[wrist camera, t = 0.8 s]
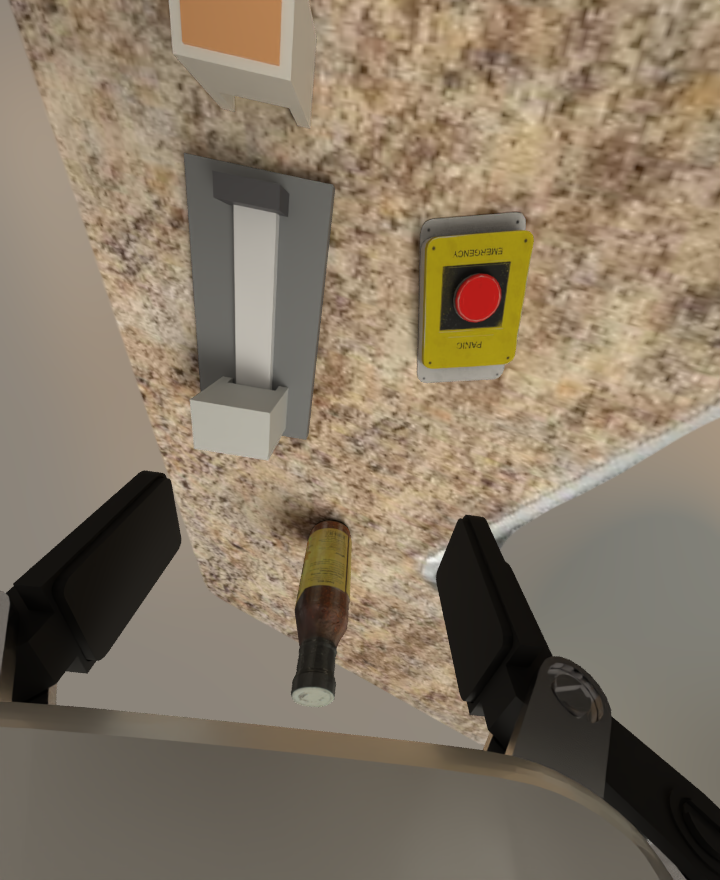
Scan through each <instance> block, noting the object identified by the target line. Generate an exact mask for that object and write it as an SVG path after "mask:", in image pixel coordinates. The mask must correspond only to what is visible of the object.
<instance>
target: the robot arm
mask: <svg viewBox="0 0 720 880" xmlns="http://www.w3.org/2000/svg"><path fill="white" fill-rule="evenodd" d="M180 544H181V534H180V529H179V523H178V517H177V512H176V507H175V501H174V495H173V489H172V484H171V480H170V479H168V478H166V475H165V474H163V473H159V472H152V471H142V472H140V473H138V474H137V475H136V476H135V477H134V478H133V479H132V480H131V481H130V482H128V483H127V484H126V485H125V486H124V487H123V488H121V489H120V490H119V491H118V492H117V493H116V494H115V495H113V496H112V497H111V498H110V499H109V500H108V501H107V502H106V503H104V504H103V505H102V506H101V507H100V508H99V509H98V510H96V511H95V512H94V513H93V514H92V515H91V516H90V517H88V518H87V519H86V520H85V521H84V522H83V523H82V524H80V525H79V526H78V527H77V528H76V529H75V530H74V531H73V532H71V533H70V534H69V535H68V536H67V537H66V538H65V539H63V540H62V541H61V542H60V543H59V544H58V545H57V546H55V548H53V549H52V550H51V551H50V552H49V553H48V554H47V555H45V556H44V557H43V558H42V559H41V560H40V561H38V562H37V563H36V564H35V565H34V566H33V567H32V568H30V569H29V570H28V571H27V572H26V573H25V574H24V575H23V576H22V577H20V578H19V579H18V580H17V581H16V582H15V583H14V584H13V585H14V587H12V588H11V589H10V590H9V591H8V592H7V593H4V592H3V591H0V880H720V809H719V808H718V807H717V806H716V805H715V804H714V803H713V802H712V801H711V800H710V799H709V798H708V797H707V796H706V795H705V794H704V793H702V792H701V791H700V790H699V789H698V788H696V787H695V786H694V785H693V784H692V783H691V782H689V781H688V780H687V779H686V778H685V777H683V776H682V775H681V774H680V773H679V772H677V771H676V770H675V769H674V768H673V767H671V766H670V765H669V764H668V763H667V762H665V761H664V760H663V759H662V758H661V757H659V756H658V755H657V754H656V753H655V752H653V751H652V750H651V749H650V748H649V747H647V746H646V745H645V744H644V743H643V742H642V741H640V740H639V739H638V738H637V737H636V736H634V735H633V734H632V733H631V732H630V731H628V730H627V729H626V728H625V727H624V726H622V725H621V724H620V723H619V722H618V721H616V720H615V719H614V718H613V717H612V716H611V708H610V705H609V703H608V700H607V697H606V696H605V694H604V692H603V691H602V689H601V688H600V686H599V684H598V683H597V682H596V681H595V680H594V679H593V677H592V676H591V675H590V674H589V673H587V672H586V671H585V670H584V669H583V668H581V666H579V665H578V664H575V663H574V662H572V661H571V660H569V659H566V658H563V657H559V656H552V654H551V652H550V650H549V647H548V645H547V643H546V641H545V639H544V637H543V635H542V633H541V630H540V628H539V626H538V624H537V622H536V620H535V618H534V615H533V613H532V611H531V610H530V607H529V605H528V603H527V601H526V598H525V596H524V595H523V592H522V590H521V588H520V586H519V583H518V581H517V579H516V577H515V575H514V573H513V571H512V569H511V567H510V565H509V564H508V563H506V562H505V560H504V558H503V556H502V554H501V551H500V549H499V547H498V545H497V543H496V541H495V538H494V536H493V534H492V532H491V530H490V527H489V525H488V523H487V521H486V519H485V518H484V517H479V516H472V515H465V516H464V518H463V519H461V518H460V519H458V521H457V524H456V526H455V529H454V531H453V533H452V536H451V538H450V541H449V543H448V546H447V548H446V551H445V553H444V556H443V558H442V561H441V563H440V566H439V568H438V571H437V575H436V582H437V587H438V592H439V597H440V602H441V606H442V611H443V616H444V621H445V626H446V630H447V635H448V640H449V645H450V650H451V654H452V659H453V664H454V669H455V673H456V678H457V683H458V688H459V692H460V696H461V698H462V700H463V701H467V705H468V709H469V714H470V715H476V716H485V720H486V724H487V728H488V730H489V732H490V733H489V736H488V738H487V741H486V743H485V746H484V748H483V750H477V749H469V748H462V747H454V746H446V745H438V744H431V743H423V742H415V741H406V740H397V739H387V738H378V737H369V736H360V735H351V734H342V733H333V732H323V731H314V730H304V729H294V728H285V727H275V726H266V725H256V724H247V723H236V722H227V721H217V720H208V719H198V718H188V717H178V716H168V715H157V714H147V713H136V712H126V711H116V710H106V709H96V708H85V707H73V706H60V705H56V693H57V690H56V689H57V687H56V685H57V682H58V681H59V679H60V678H61V677H62V675H63V674H64V673H65V671H70V672H78V673H88V672H89V670H90V669H91V667H92V666H93V665H94V663H95V662H96V661H97V660H98V661H99V660H101V659H102V658H103V657H105V655H106V654H107V653H108V652H109V650H110V649H111V647H112V646H113V644H114V643H115V641H116V640H117V638H118V637H119V636H120V634H121V633H122V631H123V630H124V628H125V627H126V625H127V624H128V622H129V621H130V619H131V618H132V616H133V615H134V614H135V612H136V611H137V609H138V608H139V606H140V605H141V603H142V602H143V601H144V599H145V598H146V596H147V595H148V593H149V592H150V590H151V589H152V587H153V586H154V584H155V583H156V582H157V580H158V579H159V577H160V576H161V574H162V573H163V571H164V570H165V568H166V567H167V565H168V564H169V563H170V561H171V560H172V558H173V557H174V555H175V554H176V552H177V551H178V549H179V547H180Z"/></svg>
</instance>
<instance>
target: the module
mask: <svg viewBox="0 0 720 880" xmlns="http://www.w3.org/2000/svg"><path fill="white" fill-rule="evenodd" d="M169 9H170V23H171V36H172V50H173V54H174V55H175V57H176V58H177V59H178V60H179V61H180V62H181V63H182V64H183V66H184V67H185V68H186V69H187V70H188V71H189V72H190V73H191V75H192V76H193V77H194V78H195V79H196V80H197V81H198V82H199V84H200V85H201V86H202V87H203V88H204V89H205V90H206V91H207V93H208V94H209V95H210V96H211V97H212V98H213V99H214V100H215V102H216V103H217V104H218V105H219V106H220V107H221V108H222V109H224V110H229V111H233V112H235V96H237V97H242V98H246V99H251V100H255V101H259V102H264V103H268V104H273V105H277V106H281V107H286V108H289V109H290V111H291V113H292V115H293V117H294V119H295V121H296V123H297V125H298V126H300V127H305V128H309V129H310V123H311V110H312V96H313V82H314V69H315V55H316V41H317V36H316V31H315V27H314V22H313V18H312V13H311V9H310V4H309V0H169Z"/></svg>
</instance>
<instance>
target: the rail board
mask: <svg viewBox="0 0 720 880" xmlns="http://www.w3.org/2000/svg"><path fill="white" fill-rule="evenodd" d="M184 162H185V176H186V190H187V204H188V219H189V233H190V247H191V261H192V275H193V289H194V303H195V317H196V331H197V346H198V360H199V374H200V388H201V392H200V393H199V394H197V395H196V396H194V397H193V398H191V399H190V407H191V418H192V430H193V441H194V449H200V450H206V451H212V452H218V453H225V454H231V455H237V456H243V457H249V458H256V459H262V460H269V458H270V456H271V455H272V453H273V451H274V449H275V447H276V445H277V444H278V442H279V440H280V438H281V436H287V437H293V438H299V439H305V440H306V439H307V436H308V434H309V424H310V415H311V406H312V397H313V388H314V378H315V369H316V360H317V351H318V341H319V332H320V323H321V314H322V305H323V295H324V286H325V277H326V268H327V258H328V249H329V240H330V231H331V221H332V212H333V203H334V194H335V188H334V186H333V185H331V184H327V183H322V182H317V181H313V180H308V179H303V178H299V177H294V176H289V175H285V174H280V173H275V172H271V171H266V170H261V169H257V168H252V167H247V166H243V165H238V164H233V163H229V162H224V161H219V160H215V159H210V158H205V157H201V156H196V155H191V154H187V153H184Z"/></svg>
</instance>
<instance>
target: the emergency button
mask: <svg viewBox="0 0 720 880" xmlns="http://www.w3.org/2000/svg"><path fill="white" fill-rule="evenodd" d="M525 229H526V219H525V217H524V216H523V214H521V213H518V212H513V213H501V214H489V215H476V216H464V217H452V218H440V219H431V220H429V221H426V222H425V224H424V225H423V226H422V229H421V233H420V263H419V310H418V356H417V375H418V379H419V380H420V381H421V382H424V383H434V382H453V381H471V380H490V379H496V378H498V377H499V376H500V375H501V374H502V373H503V370H504V365H505V364H509V363H510V362H511V361H512V360H513V358H514V356H515V350H516V344H517V338H518V332H519V326H520V320H521V314H522V308H523V302H524V296H525V290H526V284H527V278H528V272H529V266H530V260H531V254H532V248H533V242H534V239H533V235H532V234H531V232H530V231H525Z"/></svg>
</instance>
